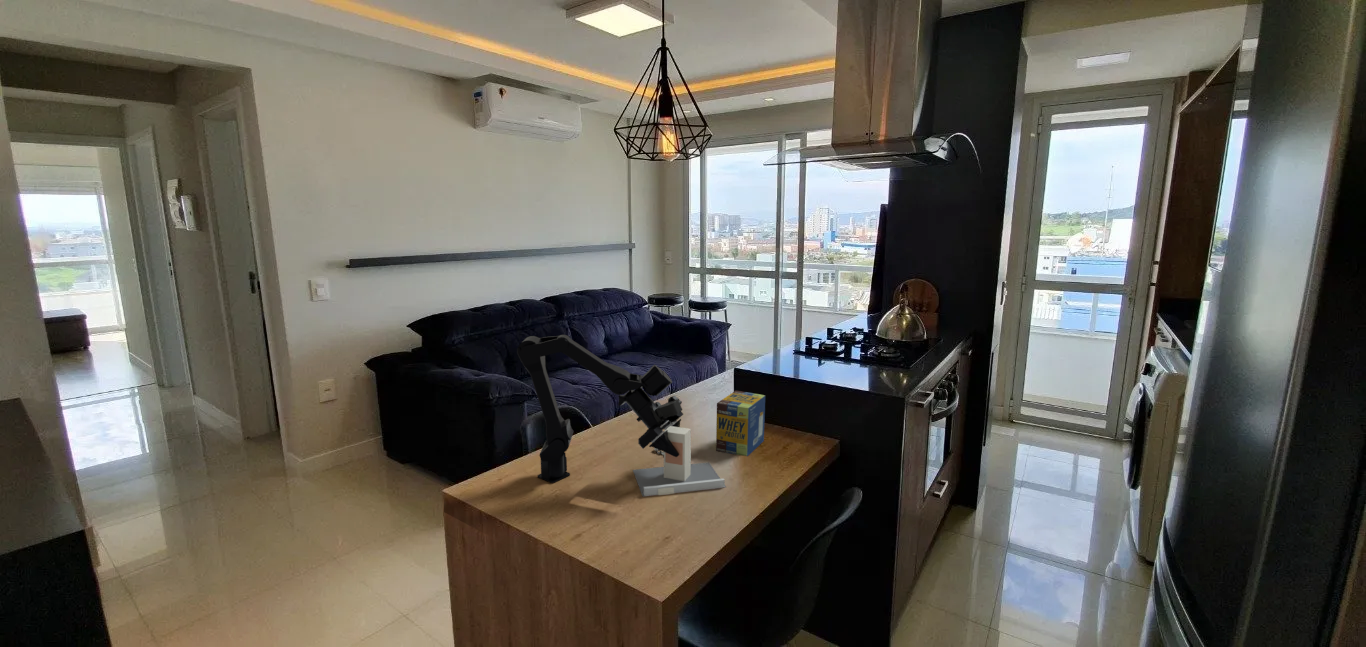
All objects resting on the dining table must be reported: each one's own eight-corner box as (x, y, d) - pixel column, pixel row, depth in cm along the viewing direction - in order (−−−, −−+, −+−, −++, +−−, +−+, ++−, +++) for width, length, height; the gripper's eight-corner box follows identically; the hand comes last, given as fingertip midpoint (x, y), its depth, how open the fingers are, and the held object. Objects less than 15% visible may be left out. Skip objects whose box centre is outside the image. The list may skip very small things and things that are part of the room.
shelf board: (642, 502, 141) (642, 489, 141) (632, 474, 157) (632, 463, 156) (726, 493, 147) (726, 480, 146) (708, 467, 162) (709, 455, 162)
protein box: (715, 451, 174) (716, 402, 171) (734, 435, 187) (735, 389, 185) (747, 457, 169) (748, 408, 166) (764, 440, 182) (766, 394, 180)
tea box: (663, 477, 152) (663, 431, 150) (670, 470, 156) (670, 425, 154) (684, 481, 150) (684, 434, 147) (690, 474, 154) (690, 428, 152)
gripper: (648, 399, 142) (689, 447, 140) (676, 380, 159) (713, 423, 157) (621, 425, 146) (660, 472, 144) (651, 404, 163) (686, 446, 161)
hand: (682, 451), depth 151 cm, fingers open, 6 cm apart
